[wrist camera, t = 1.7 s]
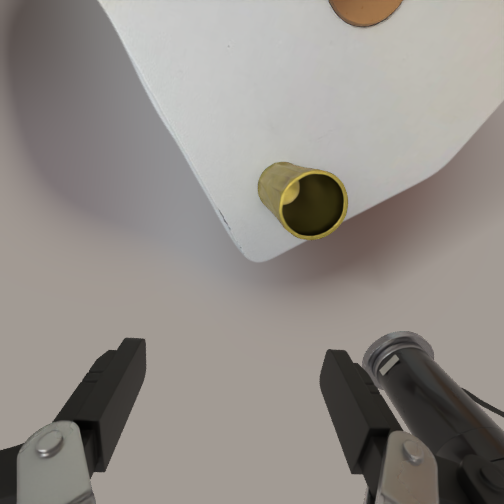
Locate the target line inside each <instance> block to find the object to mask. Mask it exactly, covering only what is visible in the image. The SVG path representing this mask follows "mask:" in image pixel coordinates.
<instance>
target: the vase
mask: <svg viewBox="0 0 504 504" xmlns="http://www.w3.org/2000/svg"><path fill="white" fill-rule="evenodd" d="M258 194H259V197H260V199H261V201H262V203H263V204H264V205H265V206H266V207H267V208H268V209H269V210H270V211H271V212H272V213H273V214H274V215H275V216H276V217H277V219H278V220H279V221H280V223H281V224H282V225H283V227H284V228H285V229H286V230H287V231H288V232H290V233H291V234H292V235H294V236H295V237H297V238H300V239H306V240H315V239H320V238H323V237H325V236H327V235H329V234H331V233H332V232H333V231H335V230H336V229H337V228H338V227H339V225H340V224H341V223H342V221H343V220H344V218H345V216H346V213H347V208H348V197H347V192H346V189H345V187H344V185H343V183H342V182H341V181H340V179H339V178H337V177H336V176H335V175H334V174H332V173H329V172H326V171H322V170H318V169H312V168H304V167H299V166H296V165H293V164H291V163H288V162H278V163H274V164H272V165H271V166H269V167H268V168H267V169H265V170H264V172H263V173H262V174H261V176H260V179H259V182H258Z"/></svg>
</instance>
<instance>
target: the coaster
mask: <svg viewBox="0 0 504 504" xmlns="http://www.w3.org/2000/svg"><path fill="white" fill-rule="evenodd" d="M402 1H403V0H329V2H330V4H331V6H332V8H333V9H334V11H335V12H336V13H337V14H338V16H339V17H340V18H342V19H343V20H344V21H346V22H347V23H349V24H352V25H355V26H371V25H374V24H377V23H379V22H381V21H382V20H384V19H386V18H387V17H388V16H389V15H390V14H392V13H393V12H394V11H395V9H396V8H397V7H398V6H399V5H400V3H401V2H402Z"/></svg>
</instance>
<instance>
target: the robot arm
mask: <svg viewBox="0 0 504 504" xmlns="http://www.w3.org/2000/svg"><path fill="white" fill-rule="evenodd" d="M145 373H146V343H145V339H141V338H140V339H139V338H125V339H124V340H123V342H122V343H121V345H120V346H119V348H118V349H117V350H108V351H107V352H106V353H104V354H103V355H102V356H101V357H99V358H98V359H97V360H96V361H95V363H94V364H93V366H92V367H91V368H90V370H89V373H87V374H86V376H85V377H84V379H83V380H82V382H81V383H80V384H79V385H78V387H77V388H76V390H75V391H74V392H73V394H72V395H71V397H70V398H69V400H68V401H67V402H66V404H65V405H64V407H63V408H62V410H61V411H60V412H59V414H58V415H57V417H56V418H55V419H54V421H53V422H52V423H51V424H49V425H46V426H45V427H43V428H41V429H39V430H38V431H37V432H35V433H34V434H33V435H32V436H30V437H29V438H28V439H27V441H26V442H25V443H23V444H20V445H17V446H14V447H11V448H7V449H3V450H0V504H96V501H95V497H94V494H93V492H92V487H91V482H90V479H91V477H92V475H93V472H105V471H106V469H107V466H108V464H109V461H110V459H111V457H112V454H113V452H114V450H115V447H116V445H117V443H118V440H119V438H120V436H121V433H122V431H123V429H124V426H125V424H126V421H127V419H128V417H129V414H130V412H131V410H132V407H133V405H134V403H135V400H136V398H137V395H138V393H139V391H140V389H141V386H142V384H143V381H144V378H145ZM373 374H374V376H375V378H376V379H377V381H378V383H379V384H380V385H381V386H382V388H383V389H384V391H385V392H386V394H387V396H388V397H389V399H390V400H391V402H392V404H393V405H394V407H395V408H396V410H397V411H398V413H399V414H400V416H401V418H402V419H403V421H404V422H405V424H406V425H407V427H408V428H409V430H410V432H411V433H412V435H411V434H410V433H407V432H404V431H403V429H402V428H401V426H400V424H399V423H398V421H397V420H396V418H395V416H394V415H393V413H392V411H391V410H390V408H389V407H388V405H387V403H386V402H385V400H384V398H383V397H382V395H380V392H379V390H378V389H377V387H376V386H375V385H374V382H373V381H372V379H371V377H370V376H369V374H368V373H367V372H366V371H365V370H364V369H363V368H362V367H361V366H360V365H359V364H358V363H353V362H352V360H351V358H350V357H349V355H348V353H347V352H346V351H345V350H331V349H329V350H327V352H326V355H325V359H324V362H323V366H322V370H321V374H320V388H321V392H322V394H323V397H324V400H325V403H326V405H327V408H328V411H329V414H330V416H331V419H332V422H333V425H334V427H335V430H336V433H337V436H338V438H339V441H340V444H341V446H342V449H343V452H344V455H345V457H346V460H347V463H348V465H349V468H350V471H351V474H363V475H364V478H365V480H366V483H367V485H368V486H367V489H366V493H365V498H364V503H363V504H504V431H503V430H502V429H501V428H500V427H499V426H498V425H497V424H496V423H495V422H494V421H493V420H492V419H491V418H490V417H489V416H488V415H487V414H486V413H485V412H484V411H483V410H482V409H481V408H480V407H479V406H478V405H477V404H476V403H475V402H477V403H478V404H480V405H481V406H483V407H485V408H487V409H489V410H491V411H492V412H494V413H497V414H498V415H500V416H502V417H504V412H502V411H500V410H498V409H497V408H495V407H493V406H491V405H489V404H487V403H485V402H483V401H482V400H480V399H478V398H477V397H476V396H474V395H473V394H471V393H470V392H468V391H467V390H465V389H463V388H461V387H459V386H458V385H457V383H456V382H455V381H454V380H453V379H451V377H450V376H449V375H448V374H447V373H445V371H444V370H443V369H442V368H441V367H440V366H439V365H438V364H437V363H436V362H435V361H434V360H433V359H432V358H431V357H430V356H429V354H428V353H427V352H426V351H425V350H424V349H423V348H422V347H421V346H419V345H417V344H414V343H399V344H396V345H393V346H391V347H389V348H387V349H386V350H384V351H383V352H382V353H381V354H380V355H379V356H378V357H377V359H376V360H375V363H374V366H373ZM474 401H475V402H474Z"/></svg>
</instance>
